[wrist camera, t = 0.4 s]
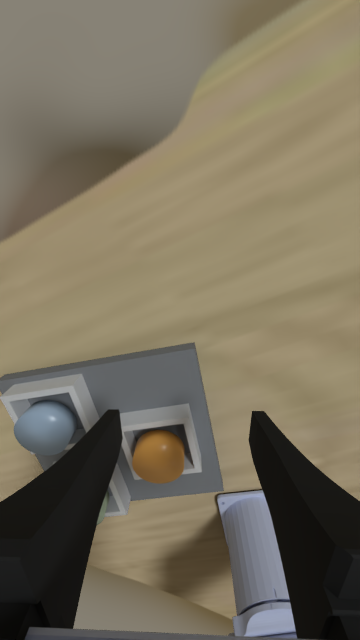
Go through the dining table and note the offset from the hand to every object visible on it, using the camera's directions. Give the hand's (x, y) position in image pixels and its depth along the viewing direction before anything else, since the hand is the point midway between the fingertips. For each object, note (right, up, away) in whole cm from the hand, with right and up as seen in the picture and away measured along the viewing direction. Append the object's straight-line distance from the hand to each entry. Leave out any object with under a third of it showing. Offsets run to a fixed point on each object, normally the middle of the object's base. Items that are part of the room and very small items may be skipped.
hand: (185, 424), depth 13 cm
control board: (-6, -6, +13) cm, 16 cm away
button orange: (-2, -7, +10) cm, 12 cm away
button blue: (-12, -4, +9) cm, 15 cm away
